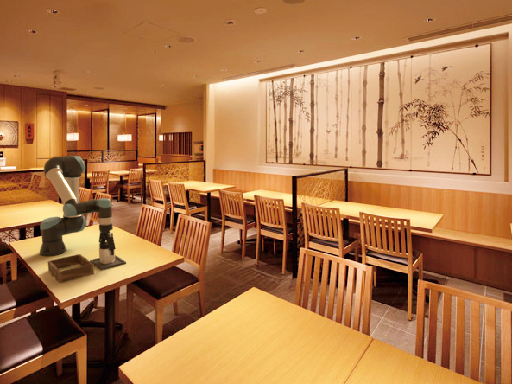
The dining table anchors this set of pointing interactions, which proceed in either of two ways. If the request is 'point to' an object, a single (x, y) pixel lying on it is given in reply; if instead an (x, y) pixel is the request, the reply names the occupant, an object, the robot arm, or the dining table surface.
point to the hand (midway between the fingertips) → (107, 256)
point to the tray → (101, 266)
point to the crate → (72, 273)
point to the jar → (105, 253)
